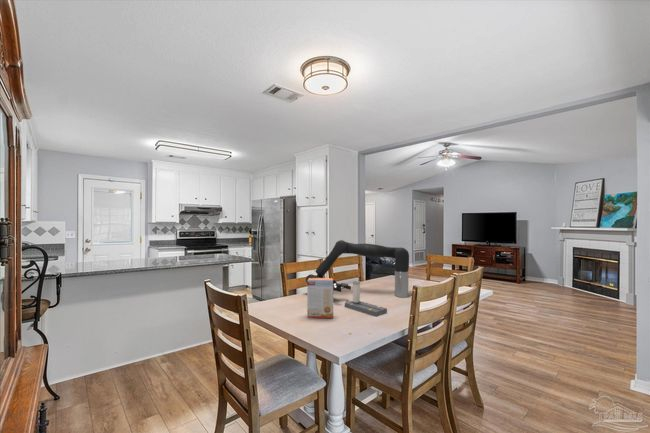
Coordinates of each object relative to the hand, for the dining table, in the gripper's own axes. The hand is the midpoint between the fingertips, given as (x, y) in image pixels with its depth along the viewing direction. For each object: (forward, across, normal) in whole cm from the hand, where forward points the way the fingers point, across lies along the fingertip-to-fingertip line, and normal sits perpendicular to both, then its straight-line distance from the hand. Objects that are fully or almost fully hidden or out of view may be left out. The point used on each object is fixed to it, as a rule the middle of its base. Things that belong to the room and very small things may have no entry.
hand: (345, 289), depth 198 cm
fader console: (+16, 0, +10) cm, 19 cm away
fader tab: (+9, 0, +6) cm, 11 cm away
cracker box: (+8, -28, +10) cm, 30 cm away
